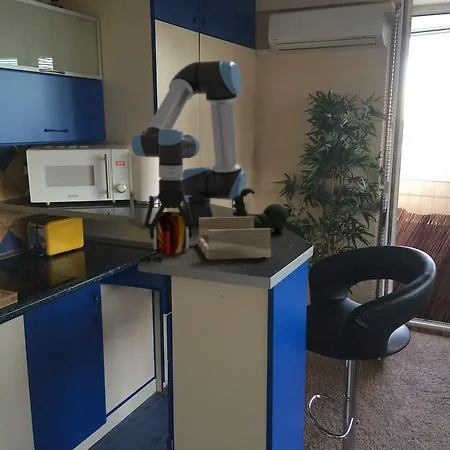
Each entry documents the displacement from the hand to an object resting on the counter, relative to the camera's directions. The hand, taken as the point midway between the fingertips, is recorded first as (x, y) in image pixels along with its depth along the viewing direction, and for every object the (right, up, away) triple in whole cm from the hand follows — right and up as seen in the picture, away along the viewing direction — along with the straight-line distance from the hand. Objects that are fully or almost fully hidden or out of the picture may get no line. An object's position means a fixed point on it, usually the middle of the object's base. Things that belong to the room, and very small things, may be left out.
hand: (171, 248), depth 170 cm
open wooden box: (+20, -1, +4) cm, 20 cm away
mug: (+1, -1, 0) cm, 2 cm away
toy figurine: (+32, +4, +30) cm, 44 cm away
